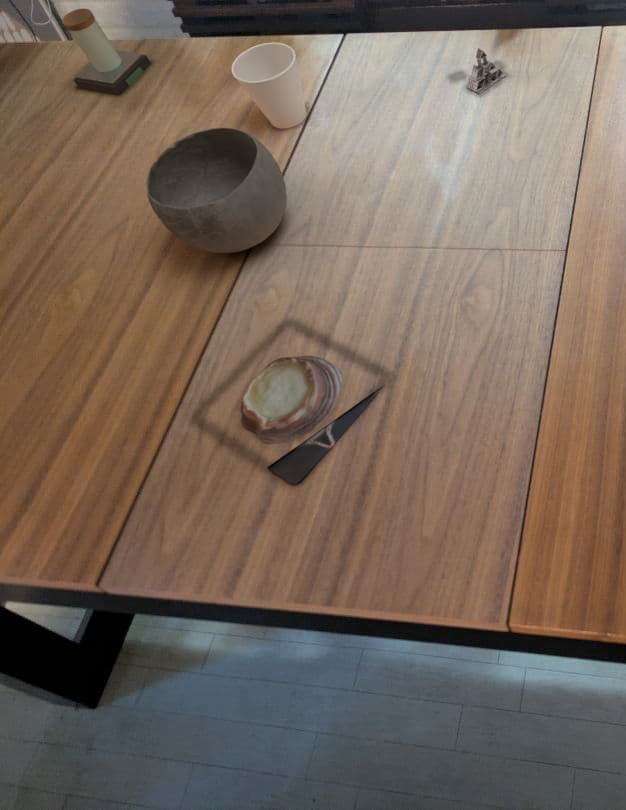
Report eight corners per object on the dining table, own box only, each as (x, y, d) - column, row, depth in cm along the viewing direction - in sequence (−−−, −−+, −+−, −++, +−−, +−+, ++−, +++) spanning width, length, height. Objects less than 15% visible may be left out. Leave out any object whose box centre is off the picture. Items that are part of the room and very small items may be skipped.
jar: (100, 76, 146) (67, 28, 137) (90, 65, 149) (57, 17, 140) (126, 63, 148) (95, 15, 139) (116, 52, 150) (85, 4, 142)
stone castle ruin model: (484, 60, 142) (478, 23, 136) (513, 77, 139) (508, 39, 132) (450, 82, 140) (442, 45, 133) (479, 99, 136) (472, 63, 130)
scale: (123, 99, 147) (113, 84, 144) (81, 91, 150) (71, 77, 147) (154, 67, 152) (145, 52, 149) (113, 60, 155) (103, 46, 152)
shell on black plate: (390, 380, 104) (382, 364, 101) (296, 488, 96) (285, 475, 93) (290, 324, 111) (280, 308, 108) (195, 421, 104) (181, 407, 100)
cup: (302, 144, 134) (274, 85, 123) (249, 135, 137) (218, 77, 126) (330, 104, 140) (306, 45, 129) (279, 97, 142) (252, 38, 132)
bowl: (249, 175, 131) (209, 105, 118) (326, 215, 123) (293, 144, 111) (163, 247, 123) (110, 180, 110) (240, 294, 116) (193, 227, 103)
